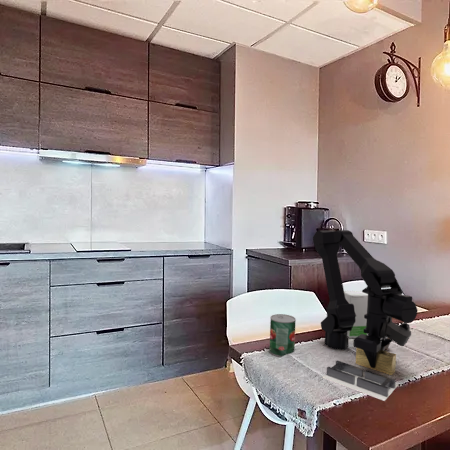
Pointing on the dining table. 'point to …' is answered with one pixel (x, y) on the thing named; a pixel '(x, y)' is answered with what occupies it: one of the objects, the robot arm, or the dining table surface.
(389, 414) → the dining table surface
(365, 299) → the skincare box
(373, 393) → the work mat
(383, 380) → the gray two-section tray
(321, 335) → the dining table surface
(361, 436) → the dining table surface
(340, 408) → the dining table surface
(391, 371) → the tan block
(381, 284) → the robot arm
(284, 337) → the canned tomato
